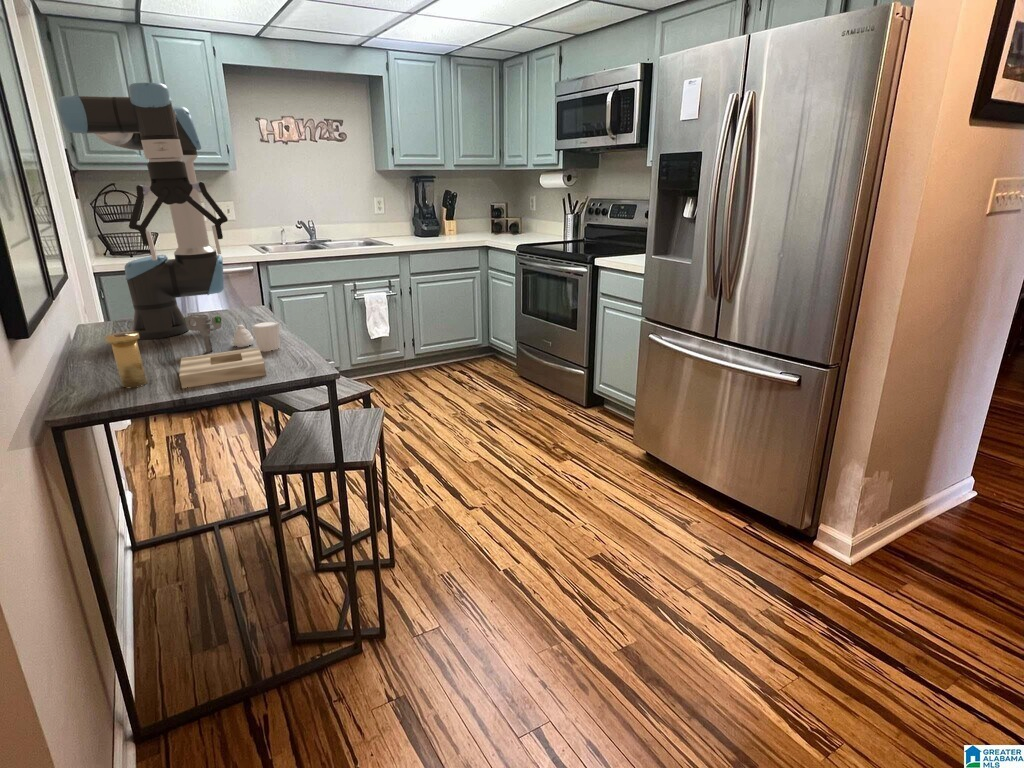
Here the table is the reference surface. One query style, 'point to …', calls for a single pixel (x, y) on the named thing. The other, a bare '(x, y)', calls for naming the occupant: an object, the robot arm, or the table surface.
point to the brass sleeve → (128, 358)
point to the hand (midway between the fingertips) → (187, 256)
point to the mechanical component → (203, 327)
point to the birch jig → (221, 367)
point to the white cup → (267, 335)
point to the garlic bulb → (242, 337)
